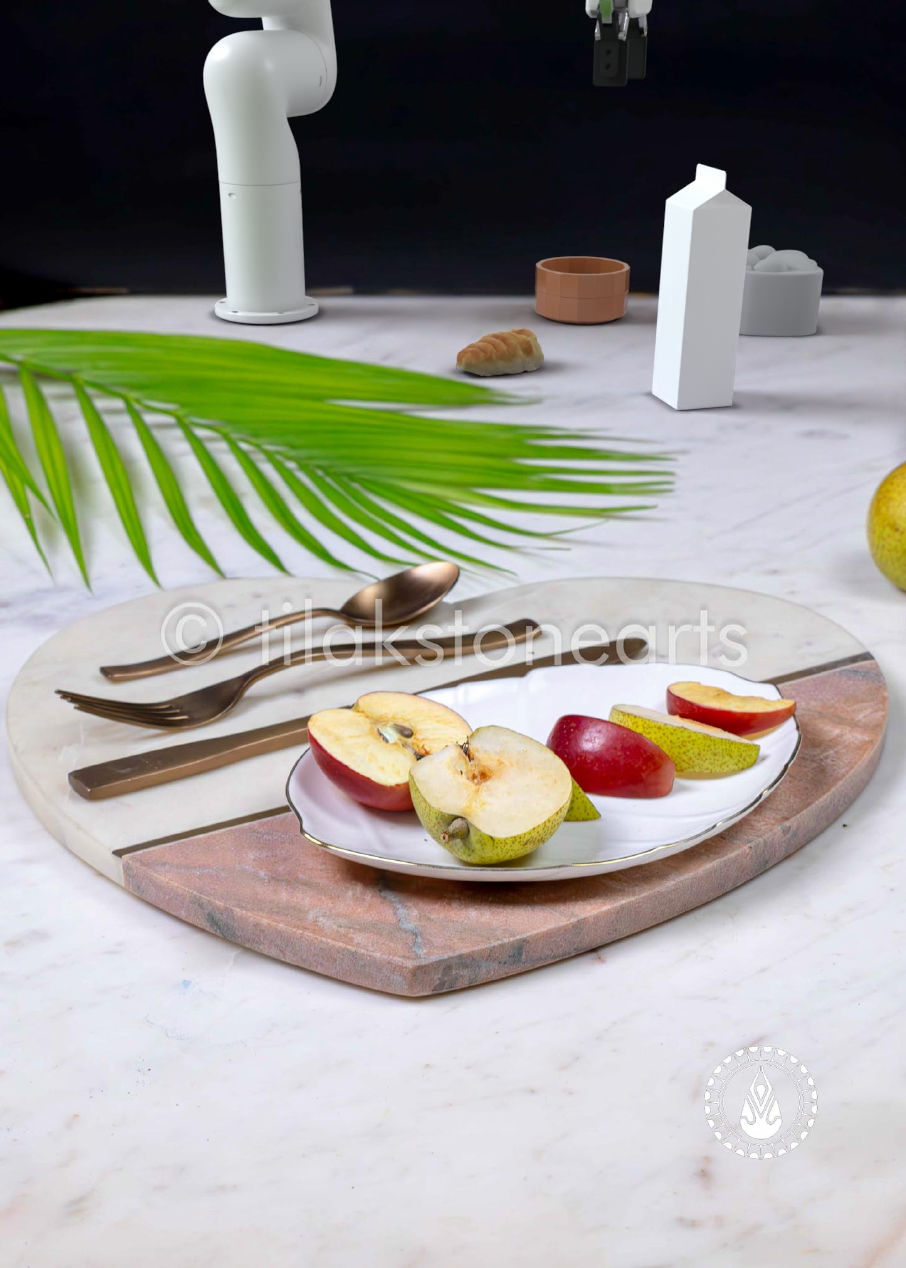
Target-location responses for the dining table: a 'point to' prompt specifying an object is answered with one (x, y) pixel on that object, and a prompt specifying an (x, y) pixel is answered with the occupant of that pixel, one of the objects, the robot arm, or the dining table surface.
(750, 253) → the lumpy-topped squat cylinder
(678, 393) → the milk
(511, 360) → the pastry
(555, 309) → the bowl
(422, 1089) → the dining table surface
